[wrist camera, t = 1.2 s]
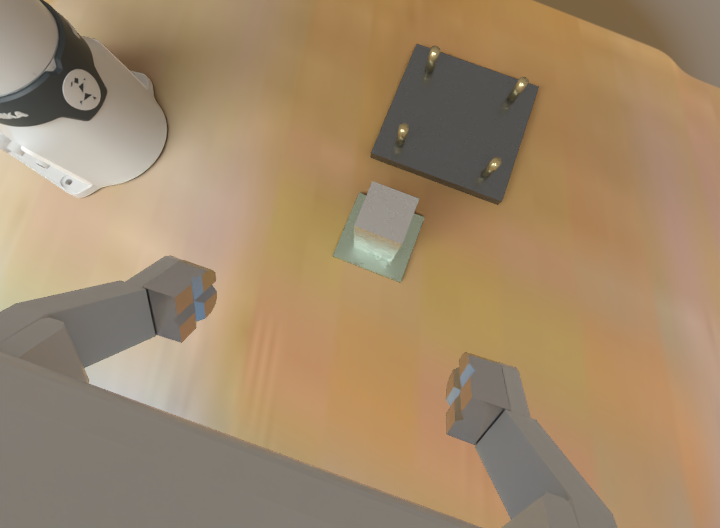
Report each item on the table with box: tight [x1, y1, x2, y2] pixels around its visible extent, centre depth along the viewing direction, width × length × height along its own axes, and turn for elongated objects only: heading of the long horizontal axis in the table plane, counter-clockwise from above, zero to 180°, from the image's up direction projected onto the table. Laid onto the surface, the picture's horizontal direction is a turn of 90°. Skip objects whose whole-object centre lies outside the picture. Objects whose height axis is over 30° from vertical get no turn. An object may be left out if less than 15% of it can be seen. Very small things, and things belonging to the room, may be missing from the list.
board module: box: [333, 181, 425, 283], centre depth 36 cm, size 9×9×10 cm
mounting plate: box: [371, 44, 539, 205], centre depth 42 cm, size 18×18×4 cm
